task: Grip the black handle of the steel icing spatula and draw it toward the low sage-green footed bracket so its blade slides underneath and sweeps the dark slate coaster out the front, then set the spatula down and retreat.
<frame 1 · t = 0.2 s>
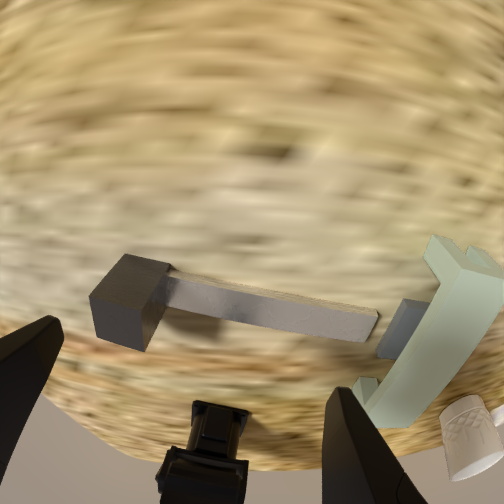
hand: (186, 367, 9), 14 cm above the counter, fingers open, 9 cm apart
spatula: (147, 278, 25), on the counter
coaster: (414, 325, 25), on the counter
bracket: (416, 329, 25), on the counter
white cup: (459, 407, 31), on the counter
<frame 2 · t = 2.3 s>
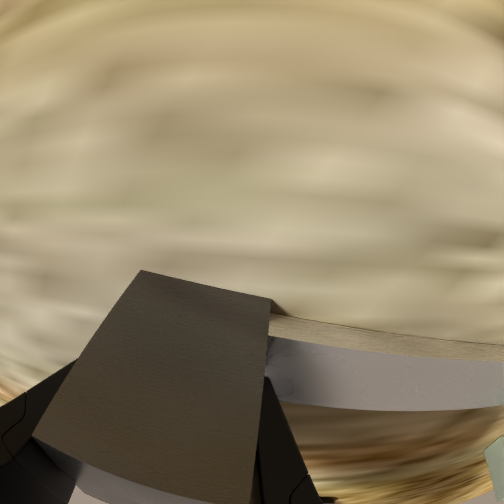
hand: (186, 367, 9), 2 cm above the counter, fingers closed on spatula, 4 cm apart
spatula: (198, 333, 10), on the counter, touching gripper
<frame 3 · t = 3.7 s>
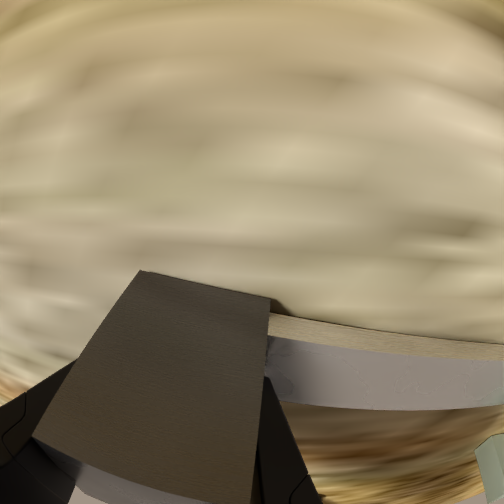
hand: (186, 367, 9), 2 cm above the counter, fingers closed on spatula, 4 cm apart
spatula: (198, 333, 10), on the counter, touching gripper
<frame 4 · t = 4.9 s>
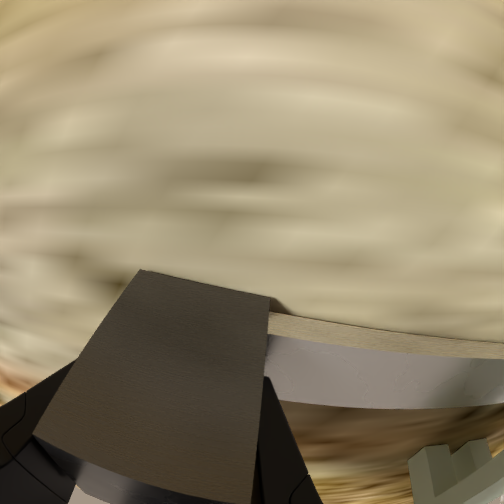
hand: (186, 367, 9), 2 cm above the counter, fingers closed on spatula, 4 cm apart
spatula: (197, 332, 10), on the counter, touching gripper
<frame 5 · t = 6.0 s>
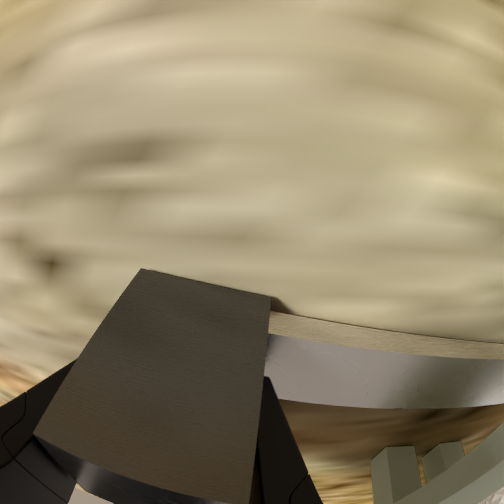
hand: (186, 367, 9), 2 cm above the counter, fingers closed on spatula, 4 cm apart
spatula: (198, 331, 10), on the counter, touching gripper
bracket: (500, 366, 10), on the counter
when the fingers open (2 cm above the counter, at t = 7.2 s): spatula stays where it is, on the counter.
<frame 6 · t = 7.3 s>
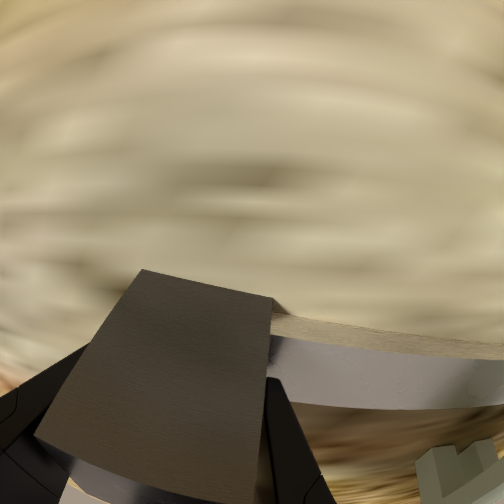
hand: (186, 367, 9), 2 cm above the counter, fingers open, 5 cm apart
spatula: (199, 332, 10), on the counter
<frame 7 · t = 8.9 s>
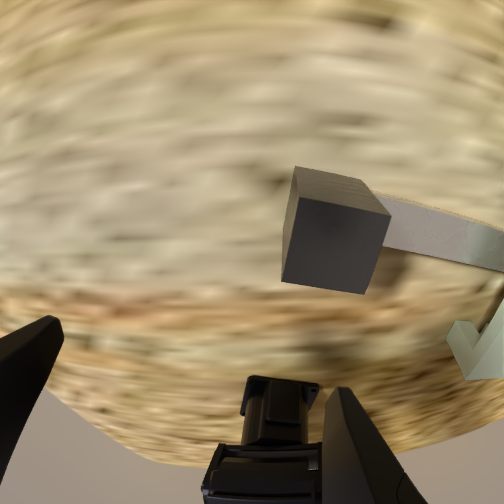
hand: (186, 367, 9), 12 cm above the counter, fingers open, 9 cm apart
spatula: (321, 204, 18), on the counter
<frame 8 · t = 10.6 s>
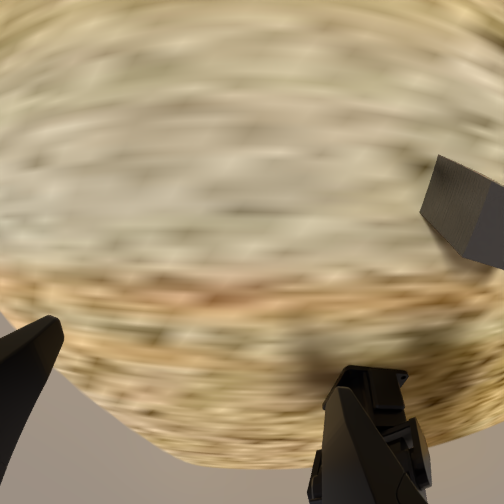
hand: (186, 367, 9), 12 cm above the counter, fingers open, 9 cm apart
spatula: (452, 192, 17), on the counter
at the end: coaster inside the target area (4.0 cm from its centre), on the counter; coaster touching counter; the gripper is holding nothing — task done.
